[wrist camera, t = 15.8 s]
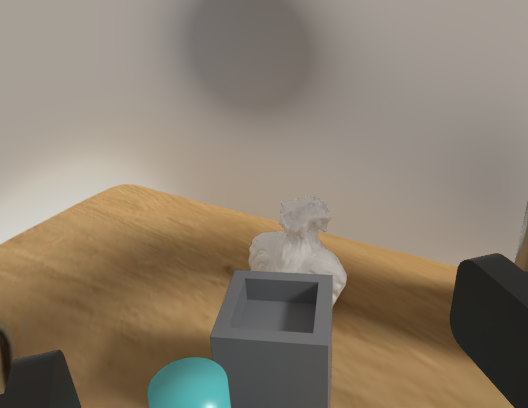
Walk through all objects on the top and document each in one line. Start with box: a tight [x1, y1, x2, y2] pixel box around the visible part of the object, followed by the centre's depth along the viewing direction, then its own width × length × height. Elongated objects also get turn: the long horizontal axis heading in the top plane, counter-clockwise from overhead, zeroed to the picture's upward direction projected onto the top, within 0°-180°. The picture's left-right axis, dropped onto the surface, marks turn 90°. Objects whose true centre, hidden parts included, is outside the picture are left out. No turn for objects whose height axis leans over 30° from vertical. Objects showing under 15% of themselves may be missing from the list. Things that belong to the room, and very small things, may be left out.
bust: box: [248, 196, 347, 307], centre depth 50 cm, size 12×8×11 cm
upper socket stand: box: [210, 270, 333, 408], centre depth 36 cm, size 8×8×10 cm
